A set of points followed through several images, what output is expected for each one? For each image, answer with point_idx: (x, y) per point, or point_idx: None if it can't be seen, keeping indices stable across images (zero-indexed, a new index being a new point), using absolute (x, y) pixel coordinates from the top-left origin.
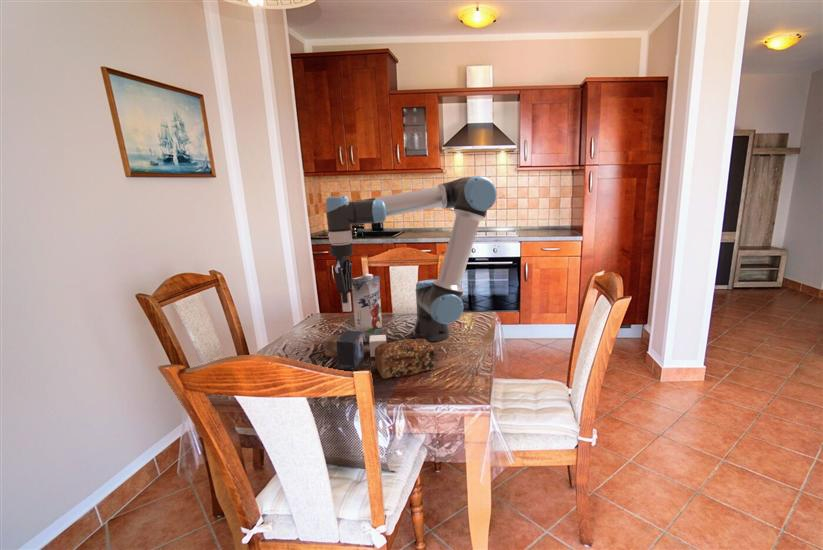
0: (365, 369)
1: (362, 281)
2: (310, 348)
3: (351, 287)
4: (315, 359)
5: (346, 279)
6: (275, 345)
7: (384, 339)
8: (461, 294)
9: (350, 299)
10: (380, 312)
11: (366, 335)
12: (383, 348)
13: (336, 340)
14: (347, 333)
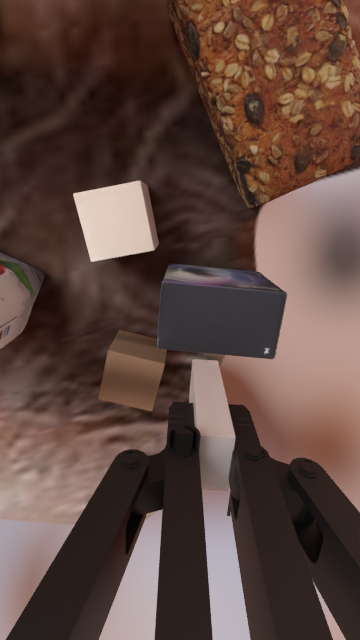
0: (252, 239)
1: None
2: (110, 435)
3: (138, 456)
4: (183, 400)
5: (285, 586)
6: None
7: (128, 189)
8: None
9: (200, 398)
10: None
11: (37, 287)
12: (347, 142)
13: (149, 372)
14: (195, 337)
